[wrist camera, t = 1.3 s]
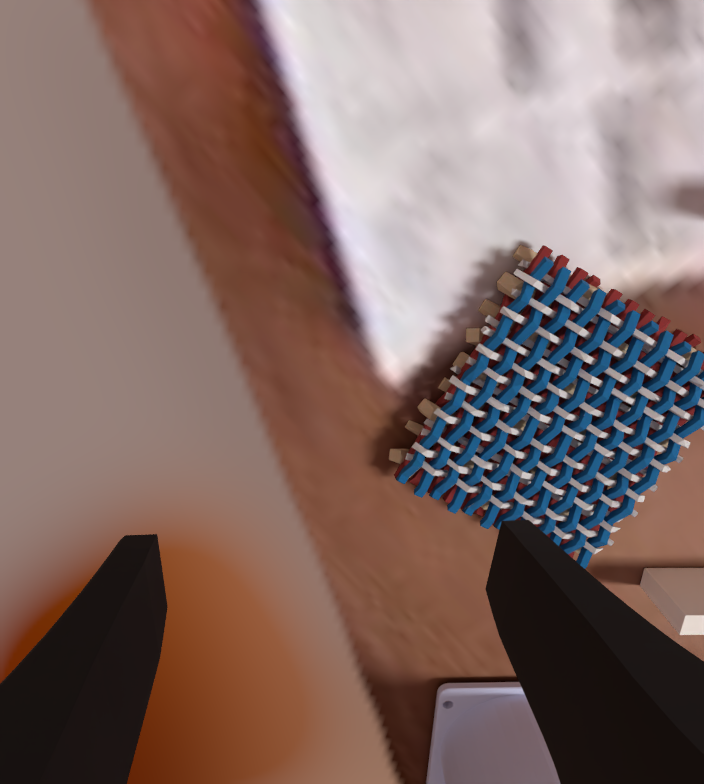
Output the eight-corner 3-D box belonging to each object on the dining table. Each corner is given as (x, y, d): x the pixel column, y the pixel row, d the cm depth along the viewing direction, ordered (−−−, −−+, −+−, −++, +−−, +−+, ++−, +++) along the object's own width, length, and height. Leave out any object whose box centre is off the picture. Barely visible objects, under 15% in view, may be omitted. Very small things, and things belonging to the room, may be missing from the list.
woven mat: (728, 358, 22) (766, 374, 20) (571, 553, 25) (592, 582, 23) (521, 228, 20) (542, 232, 18) (376, 458, 23) (381, 482, 21)
